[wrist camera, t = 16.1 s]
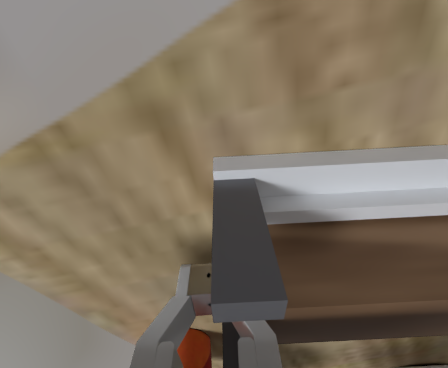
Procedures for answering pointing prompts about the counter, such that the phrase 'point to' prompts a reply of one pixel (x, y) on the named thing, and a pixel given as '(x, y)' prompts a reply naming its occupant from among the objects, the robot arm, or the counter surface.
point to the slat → (362, 279)
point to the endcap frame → (304, 215)
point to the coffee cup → (195, 350)
